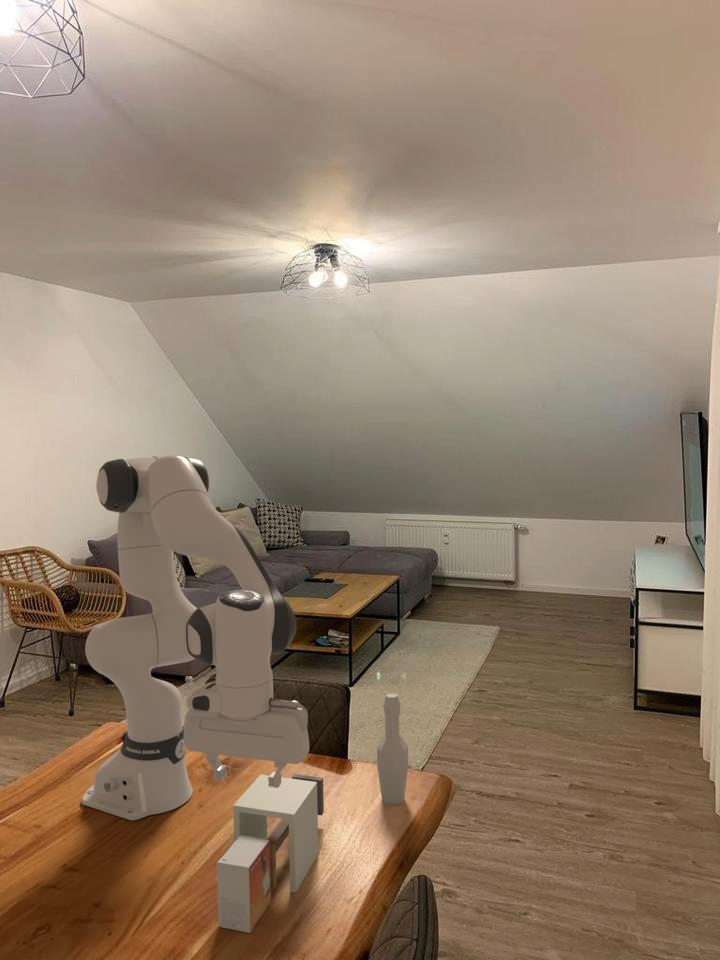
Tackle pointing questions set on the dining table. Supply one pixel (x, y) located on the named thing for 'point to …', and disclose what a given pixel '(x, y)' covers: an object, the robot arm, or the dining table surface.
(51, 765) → the dining table surface
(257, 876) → the small box
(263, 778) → the tunnel
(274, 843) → the push rod
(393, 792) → the low poly bottle
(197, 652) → the robot arm
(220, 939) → the dining table surface
